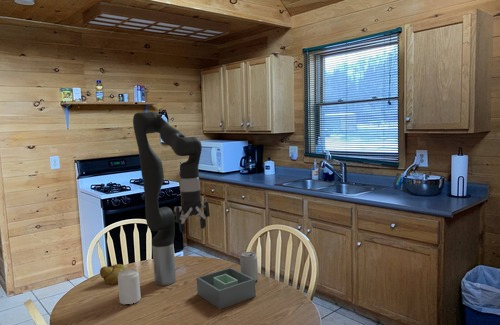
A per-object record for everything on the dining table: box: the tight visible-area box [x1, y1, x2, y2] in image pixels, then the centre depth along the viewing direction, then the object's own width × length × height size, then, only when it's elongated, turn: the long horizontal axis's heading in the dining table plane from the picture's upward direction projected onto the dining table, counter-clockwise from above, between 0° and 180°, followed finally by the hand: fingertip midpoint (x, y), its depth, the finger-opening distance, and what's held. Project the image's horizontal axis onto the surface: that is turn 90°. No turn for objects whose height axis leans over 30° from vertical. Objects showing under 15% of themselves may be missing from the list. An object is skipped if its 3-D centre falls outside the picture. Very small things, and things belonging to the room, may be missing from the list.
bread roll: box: [99, 263, 128, 285], centre depth 181 cm, size 13×10×8 cm
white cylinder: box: [117, 268, 142, 305], centre depth 158 cm, size 8×8×12 cm
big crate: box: [196, 267, 257, 310], centre depth 160 cm, size 18×17×7 cm
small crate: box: [213, 274, 238, 290], centre depth 160 cm, size 9×6×6 cm, turn 36°
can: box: [239, 251, 259, 282], centre depth 174 cm, size 8×8×12 cm
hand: (192, 230), depth 154 cm, fingers open, 8 cm apart
